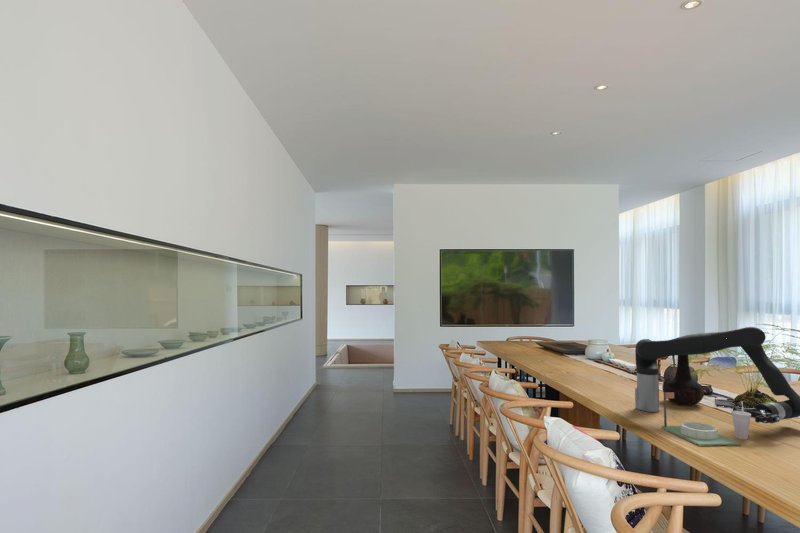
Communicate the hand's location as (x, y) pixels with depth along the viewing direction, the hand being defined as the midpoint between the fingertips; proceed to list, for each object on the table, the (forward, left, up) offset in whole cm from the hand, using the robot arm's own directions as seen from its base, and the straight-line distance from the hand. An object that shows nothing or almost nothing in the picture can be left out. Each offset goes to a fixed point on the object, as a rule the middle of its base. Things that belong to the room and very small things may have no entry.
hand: (744, 416), depth 181 cm
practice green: (-10, -14, -8) cm, 19 cm away
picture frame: (-22, +53, -9) cm, 58 cm away
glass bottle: (-39, +35, -8) cm, 53 cm away
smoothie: (0, -2, -8) cm, 8 cm away
